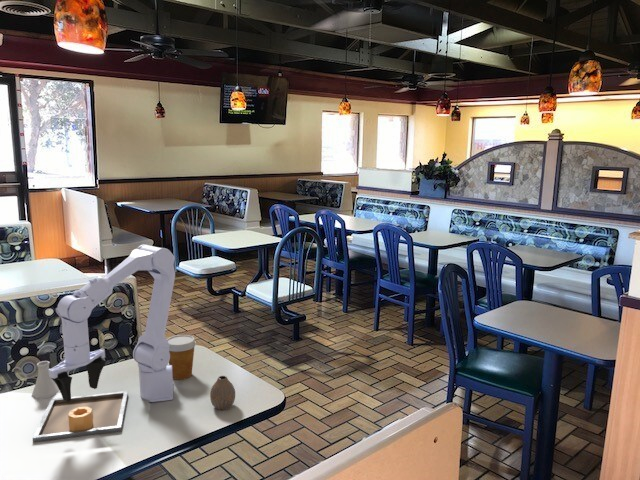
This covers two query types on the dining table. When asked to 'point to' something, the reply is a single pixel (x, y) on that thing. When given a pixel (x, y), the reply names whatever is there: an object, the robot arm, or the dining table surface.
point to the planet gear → (80, 418)
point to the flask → (44, 382)
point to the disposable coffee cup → (181, 355)
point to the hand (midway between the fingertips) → (80, 393)
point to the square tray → (95, 431)
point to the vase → (222, 393)
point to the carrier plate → (102, 409)
